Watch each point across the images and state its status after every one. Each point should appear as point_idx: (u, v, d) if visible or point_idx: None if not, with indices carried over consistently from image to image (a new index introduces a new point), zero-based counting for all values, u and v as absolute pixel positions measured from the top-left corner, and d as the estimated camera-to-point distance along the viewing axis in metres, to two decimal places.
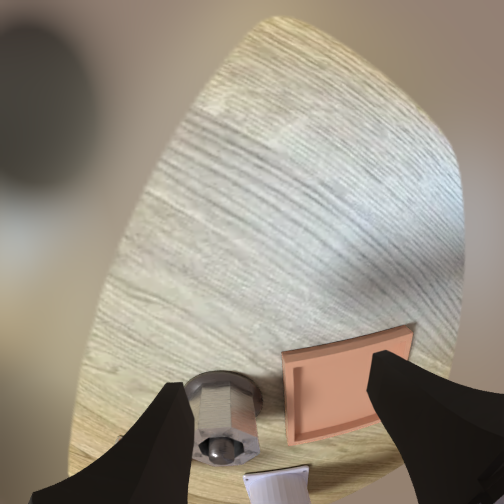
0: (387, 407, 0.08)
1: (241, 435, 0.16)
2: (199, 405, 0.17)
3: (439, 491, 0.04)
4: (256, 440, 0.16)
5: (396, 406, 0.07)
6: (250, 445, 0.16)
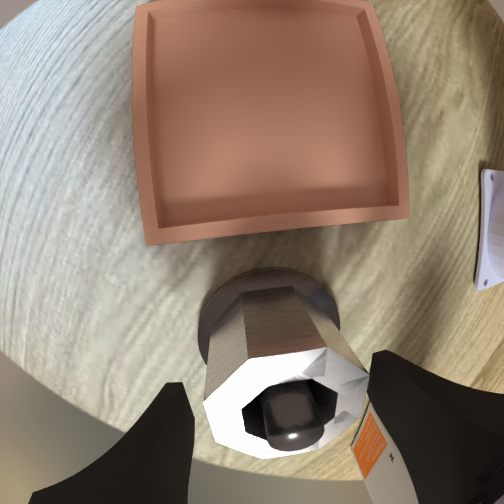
0: (387, 407, 0.08)
1: (236, 388, 0.07)
2: None
3: (439, 491, 0.04)
4: (262, 360, 0.07)
5: (396, 406, 0.07)
6: (284, 370, 0.07)
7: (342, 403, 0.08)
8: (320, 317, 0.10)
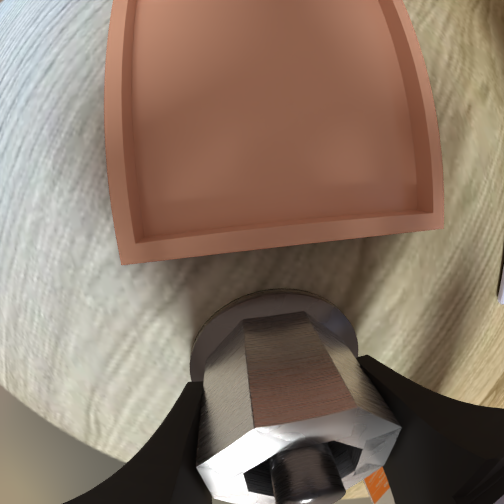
0: None
1: (238, 455, 0.05)
2: None
3: (416, 503, 0.04)
4: (273, 428, 0.05)
5: None
6: (300, 436, 0.05)
7: (366, 457, 0.06)
8: (340, 353, 0.08)
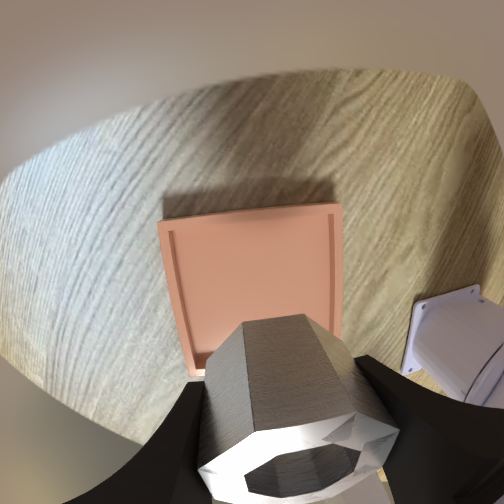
0: None
1: (238, 458, 0.05)
2: None
3: (416, 503, 0.04)
4: (273, 432, 0.05)
5: None
6: (299, 440, 0.05)
7: (364, 459, 0.06)
8: (340, 356, 0.08)
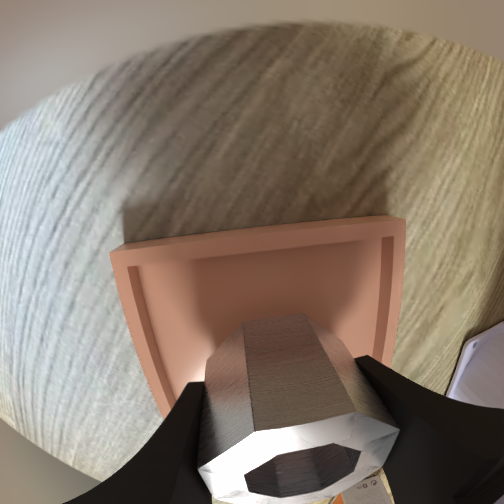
0: None
1: (238, 457, 0.05)
2: None
3: None
4: (273, 432, 0.05)
5: None
6: (299, 439, 0.05)
7: (364, 459, 0.06)
8: (340, 355, 0.08)
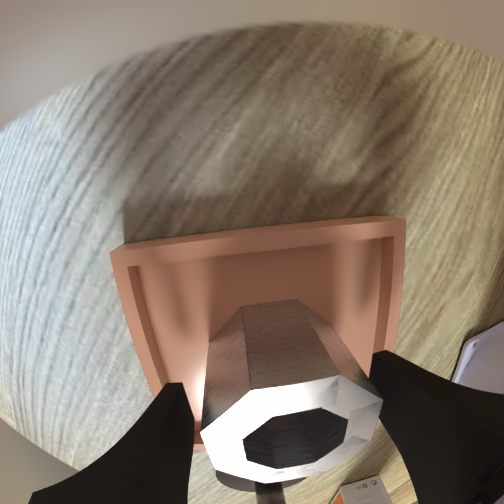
0: (387, 407, 0.08)
1: (237, 419, 0.06)
2: None
3: (439, 491, 0.04)
4: (267, 391, 0.06)
5: (396, 406, 0.07)
6: (290, 400, 0.06)
7: (352, 429, 0.07)
8: (328, 335, 0.09)
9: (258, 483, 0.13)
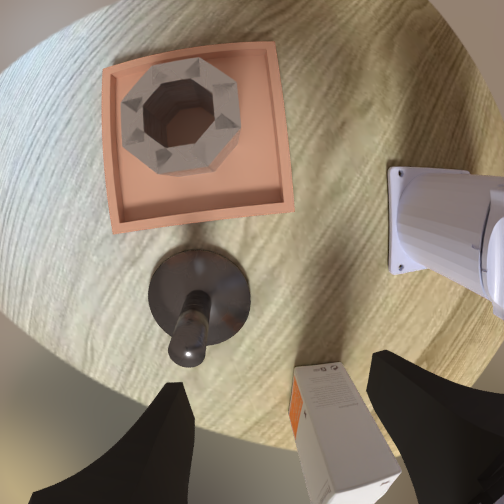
0: (387, 407, 0.08)
1: (142, 86, 0.10)
2: None
3: (439, 491, 0.04)
4: (159, 66, 0.10)
5: (396, 406, 0.07)
6: (172, 72, 0.10)
7: (218, 105, 0.11)
8: None
9: (185, 301, 0.17)
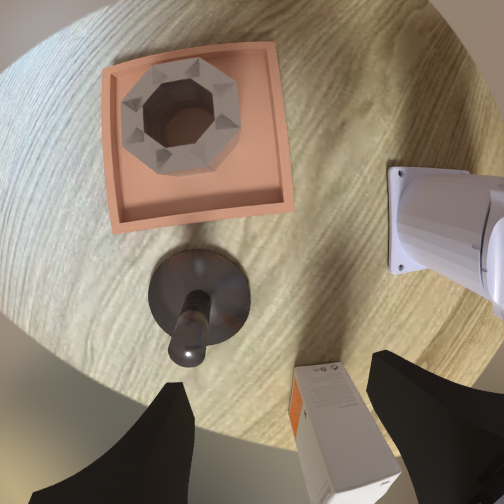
0: (387, 407, 0.08)
1: (142, 86, 0.10)
2: None
3: (439, 491, 0.04)
4: (159, 66, 0.10)
5: (396, 406, 0.07)
6: (172, 71, 0.10)
7: (218, 105, 0.11)
8: None
9: (185, 301, 0.17)
